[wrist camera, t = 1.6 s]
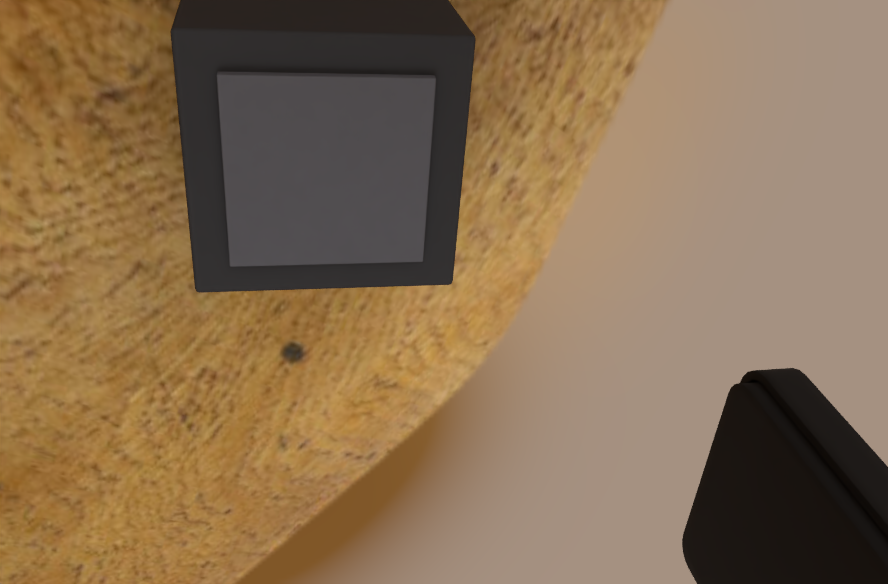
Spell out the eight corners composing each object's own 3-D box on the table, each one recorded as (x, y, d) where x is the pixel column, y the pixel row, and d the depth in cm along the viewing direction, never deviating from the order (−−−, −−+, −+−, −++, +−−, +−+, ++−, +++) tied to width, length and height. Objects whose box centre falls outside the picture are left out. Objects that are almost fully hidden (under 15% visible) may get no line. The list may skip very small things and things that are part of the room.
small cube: (435, -19, 19) (479, 38, 16) (421, 196, 22) (454, 290, 18) (188, -29, 18) (168, 31, 15) (206, 198, 21) (194, 299, 17)
